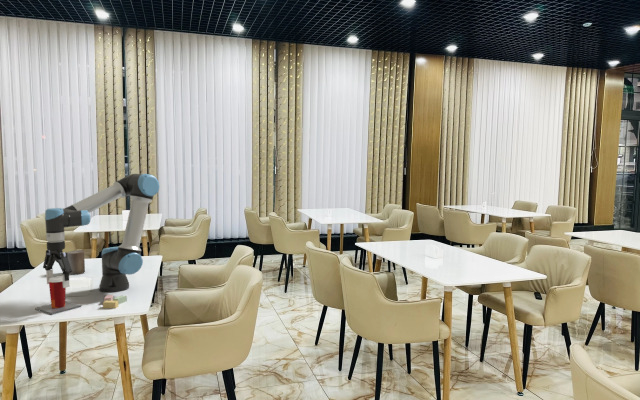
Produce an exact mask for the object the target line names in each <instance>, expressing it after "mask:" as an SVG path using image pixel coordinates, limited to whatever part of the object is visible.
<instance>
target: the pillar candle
mask: <svg viewBox="0 0 640 400" xmlns="http://www.w3.org/2000/svg"><path fill="white" fill-rule="evenodd" d="M66 252H67V257H68V260H69V263H70V266H71V269H72V272H70V273H69V274H77V275H82V274H85V273H86V267H85V266H86V265H85V250H81V249H79V250H77V249H75V250H70V251H66ZM84 272H85V273H84Z"/></svg>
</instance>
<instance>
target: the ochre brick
mask: <svg viewBox="0 0 640 400" xmlns="http://www.w3.org/2000/svg"><path fill="white" fill-rule="evenodd" d="M118 307H119V304H118V301H104V300H103V302H102V309H116V308H118Z"/></svg>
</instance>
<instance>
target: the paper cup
mask: <svg viewBox="0 0 640 400" xmlns="http://www.w3.org/2000/svg"><path fill="white" fill-rule="evenodd" d="M48 282H49V284H48V286H49V296H50V304H51V306H52V308H62V307H64V306H65V301H66V290H67V287H66V288H63V280H62V275H57V276H53V277H51V278H49V280H48Z"/></svg>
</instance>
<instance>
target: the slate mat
mask: <svg viewBox="0 0 640 400" xmlns="http://www.w3.org/2000/svg"><path fill="white" fill-rule="evenodd" d="M81 307H82V305H81V304H77V303H74V302H70V301H67V300H65V306H64V307H62V308H52V306H51V303H50V304H49V303H48V304H45V305H41V306H39V307H35V309H34V310H36V311H38V312H43V313H45V314H48V315H51V316H52V315H56V314H60V313H63V312H64V313H65V312H66V311H67V312H68V311H70V310H74V309H78V308H81Z"/></svg>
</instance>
